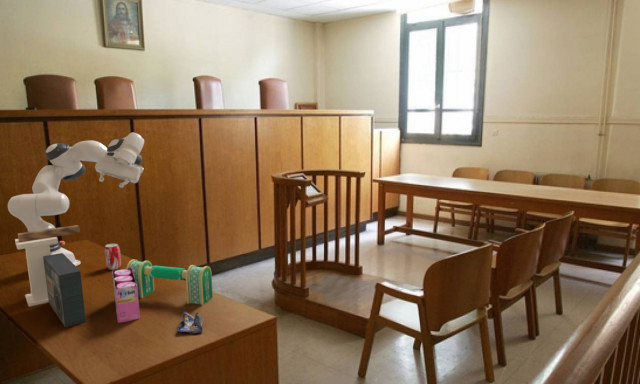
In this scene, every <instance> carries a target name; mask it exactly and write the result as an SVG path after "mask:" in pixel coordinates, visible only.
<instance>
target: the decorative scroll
mask: <svg viewBox="0 0 640 384" xmlns="http://www.w3.org/2000/svg"><path fill="white" fill-rule="evenodd" d="M129 267H131V268H132V270H133V274H134V278H135V281H136V284H137V289H138V298H140V299H143V298H145V297H147V296H148V295H150V294H151V293H153V292H154V291H155V282H154V281H155V279H162V280H164V279H165V280H174V281H183V280H184V279H185V287H186V290H185V291H186V303H187V304H194V305H195V304H196V305H200V306H204V305H205V304H206V303H208V302H209V301H210V300H211V299H213V298H214V292H213V291H214V290H213V275H212V274H213V273H212V269H211V266H208V265H206V266H203V267H200V266H197V265H195V264H191V265H189V267H187V269H186V268H183V267H174V266H173V267H172V266H163V265H161V266H160V265H153V264H152V262H151V261H149V260H144V261H139V260H138V259H131V260H129V261H128V262H127V265H126V267H125V270H128V268H129Z"/></svg>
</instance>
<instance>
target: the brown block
mask: <svg viewBox="0 0 640 384" xmlns="http://www.w3.org/2000/svg"><path fill="white" fill-rule="evenodd" d="M74 234H77V235H78V234H81V228H80V225H79V224H74V225H69V226H61V227H55V228H53V229H46V230H39V231H32V232H28V231H25V232H20V233H18V232H17V237H18V238H17V239H18V240H19V242H25V241H31V240H38V239H44V238H51V237H57V238H58V237H61V236H69V235H74Z"/></svg>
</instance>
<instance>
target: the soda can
mask: <svg viewBox="0 0 640 384" xmlns="http://www.w3.org/2000/svg"><path fill="white" fill-rule="evenodd" d="M104 247H105V248H104V260H105V268H106V269H108V270H109V271H110V270H112V271H113V270H119V268H120V267H122V257H121V255H122V254H121V249H120V246H119V244H118V243H117V242H116V243H108V244H106V245H105V246H104Z"/></svg>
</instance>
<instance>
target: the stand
mask: <svg viewBox="0 0 640 384" xmlns="http://www.w3.org/2000/svg"><path fill="white" fill-rule="evenodd" d="M14 241H15V246H16V249H17V250H18V251H19V250H23V249H24V250H25V251H24V252H25V258H26V265H27V271H28V279H29V285H30V293H27V294H25V295H24V296H25V299H26V302H27V306H28V307H33V306H39V305H43V304H47V303H49V300H48V292H47V284H46V276H45V268H44V260H43V256H48V255H51V253H50V245H49V244H56V243H58V241H59V240H58V236H57V237H51V238H44V239H38V240H31V241H25V242H19V240H18V238H14Z"/></svg>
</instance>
